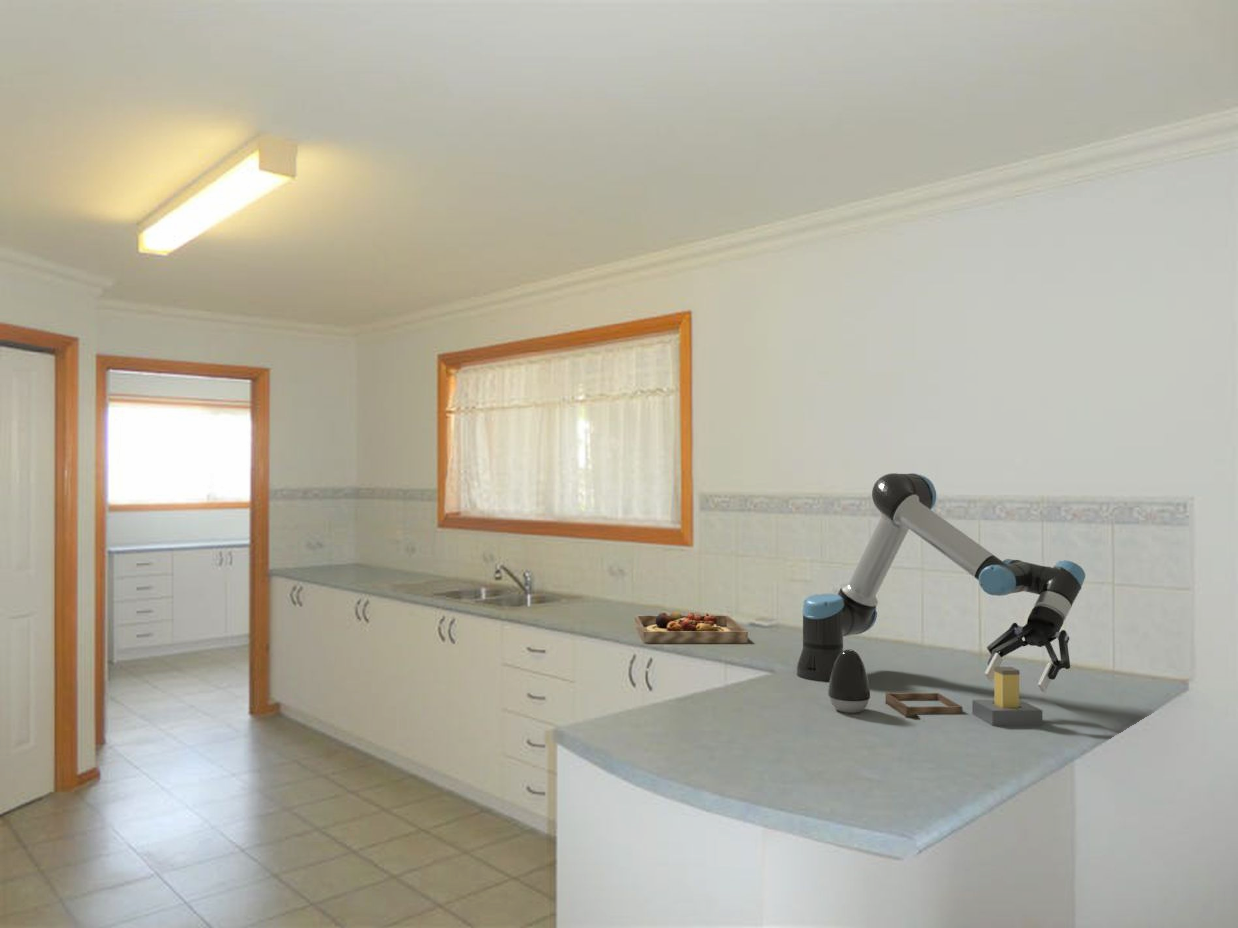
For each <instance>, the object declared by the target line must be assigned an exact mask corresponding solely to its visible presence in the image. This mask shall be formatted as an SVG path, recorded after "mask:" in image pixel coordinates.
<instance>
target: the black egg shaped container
mask: <svg viewBox="0 0 1238 928" xmlns="http://www.w3.org/2000/svg"><path fill="white" fill-rule="evenodd" d="M868 677H869V676H868V675H867V670H866V667H865V664H864V662H863V660H862V657H861V656H860V654H859V653H858V652H857V651H855V650H853V649H843V651H842V652H841V653H840V654H839V655H838V657H837V659H836V661H835V663H834V666H833V669H832V673H831V677H830V681H828V682H829V683H828V688H827V689H828V690H827V695H828V697H829V700H830V704H831V705H832V706H833V708H835V709H836V710H837V711H839V712H842V713H847V714H857V713H860V712H862V711H864V710H865V709H866V708H867V706H868V704H869V700H870V698H871V689H870V683H869V678H868Z"/></svg>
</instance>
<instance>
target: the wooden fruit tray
mask: <svg viewBox="0 0 1238 928" xmlns="http://www.w3.org/2000/svg"><path fill="white" fill-rule="evenodd" d="M658 615H659V614H657V615H655V614H654V615H652V614H651V615H649V614H646V615H640V614H638V615H635V616H634V627H635V629H636V630H637V633H638V635H639V637H640V639H641V642H642V643H643V644H748V643H749V633H748V632H749V631H748V630H746V628H744V627H743V626H742V625H741V624H740V623H738V622H737V621H736V620H734V619H733V618H732V617H731V616H730V615H713V616H714V617H716V619H717V623H716V625H717V626H720V627H726V628H727V629H729V630H730V631H646V628H645V627H648V626H651V625H656V622H655V621H656V617H657V616H658ZM667 615H668V616H669V615H670V614H667ZM681 615H682V614H681ZM687 615H688V614H687ZM687 615H685V614H684V615H682V616H683V618H686V617H687ZM699 615H700V614H699ZM708 615H709V616H711V615H710V614H708ZM700 616H701V617H703V616H706V614H705V615H700ZM702 621H703V620H702Z"/></svg>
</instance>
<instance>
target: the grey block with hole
mask: <svg viewBox="0 0 1238 928" xmlns="http://www.w3.org/2000/svg"><path fill="white" fill-rule="evenodd" d="M971 709H972V712H971V714H972V715H973V716H975V717H977V718H978V719H980V720H982V721H983V722H985V723H987V724H988V725H990V726H992V727H995V726H996V727H1004V726H1005V727H1009V726H1010V727H1014V726H1015V727H1016V726H1017V727H1021V726H1022V727H1023V726H1028V727H1029V726H1032V727H1033V726H1035V727H1036V726H1043V709H1040V708H1039V707H1036V706H1034V705H1032V704H1030V703H1029V702H1026V701H1024V700H1022V699H1019V708H1001V707H999V706H998V705H996V704H994V699H972V707H971Z"/></svg>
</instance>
